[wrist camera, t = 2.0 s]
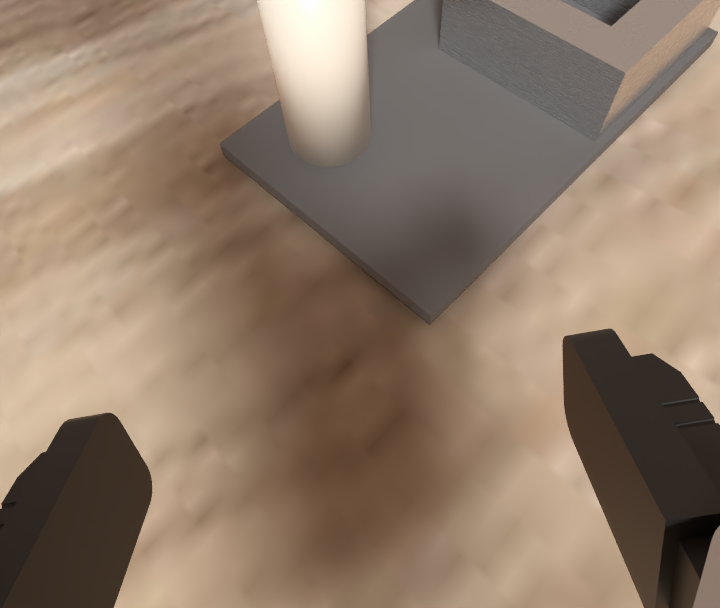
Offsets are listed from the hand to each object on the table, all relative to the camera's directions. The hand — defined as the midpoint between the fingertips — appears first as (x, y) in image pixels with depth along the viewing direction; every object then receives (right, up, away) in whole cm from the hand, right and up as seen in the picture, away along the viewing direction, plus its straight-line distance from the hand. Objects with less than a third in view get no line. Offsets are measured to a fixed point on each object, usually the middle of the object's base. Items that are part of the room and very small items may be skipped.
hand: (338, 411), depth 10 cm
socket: (+14, +19, +28) cm, 36 cm away
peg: (-1, +12, +25) cm, 28 cm away
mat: (+8, +15, +27) cm, 32 cm away
